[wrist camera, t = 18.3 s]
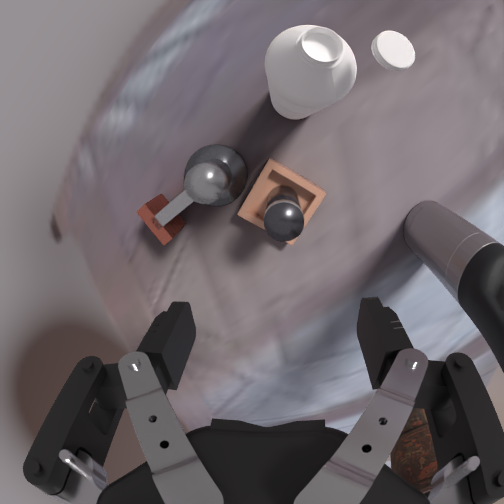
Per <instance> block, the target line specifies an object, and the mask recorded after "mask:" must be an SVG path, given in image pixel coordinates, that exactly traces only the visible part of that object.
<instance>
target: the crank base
mask: <svg viewBox="0 0 504 504" xmlns="http://www.w3.org/2000/svg"><path fill="white" fill-rule="evenodd" d="M210 159H219V160H222V161H223V162H225V163H226V164H227V165H228V166H229V168H230V170H231V173H232V180H231V183H230V185H229V187H228V188H227V189H226V190H225V191H224V192H223V194H222V195H221V196H220V197H219V198H218V199H217V200H216V201H214V202H212V203H209V204H207V205H212V206H221V205H225V204H228V203H230V202H232V201H233V200H235V199H236V198H237V197H238V196H239V195H240V194H241V192H242V191H243V189H244V187H245V184H246V180H247V169H246V166H245V163H244V161H243V159H242V158H241V156H240V155H239V154H238V153H237V152H236V151H235V150H233V149H231V148H229V147H227V146H224V145H209V146H205V147H203V148H201V149H199V150H198V151H196V152H195V153H194V154H193V155H192V156H191V158H190V159H189V161H188V163H187V166H186V170H185V177H186V174H187V173H188V171H189V170H190V169H191V168H193V167H194V166H196V165H198V164H200V163H203V162H205V161H207V160H210Z"/></svg>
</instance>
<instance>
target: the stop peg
mask: <svg viewBox="0 0 504 504" xmlns="http://www.w3.org/2000/svg"><path fill="white" fill-rule="evenodd" d="M264 227H265V230H266V232H267V233H268V235H269V236H270V237H272V238H273V239H275V240H277V241H283V242H286V241H291V240H293V239H295V238H297V237H298V236H299V235H300V234H301V232H302V230H303V228H304V215H303V212H302V210H301V206H300V203H299V199H298V196H297V194H296V192H295V191H294V190H293V189H292V188H291V187H289V186H285V185H280V186H277V187H275V188H273V189H272V190H271V191H270V192H269V194H268V198H267V204H266V210H265V214H264Z"/></svg>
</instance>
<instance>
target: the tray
mask: <svg viewBox="0 0 504 504" xmlns="http://www.w3.org/2000/svg"><path fill="white" fill-rule="evenodd" d="M280 185H285V186H289V187H291V188H292V189H293V190H294V191H295V192H296V194H297V196H298V199H299V203H300V206H301V210H302V212H303V215H304V227H305V225H306V224H307V222H308V221H309V219H310V218H311V216H312V215H313V213H314V212H315V210H316V209H317V207H318V206H319V204H320V203H321V201H322V200H323V198H324V197H325V195H326V192H325V191H324V190H323V189H322V188H320V187H318V186H317V185H315V184H314V183H312V182H310V181H309V180H307V179H306V178H304V177H302V176H301V175H299V174H297V173H296V172H294V171H292V170H291V169H289V168H287V167H286V166H284V165H282V164H280V163H279V162H277V161H275V160H273V159H272V158H269V160H268V162H267V163H266V165H265V167H264V168H263V170H262V172H261V173H260V175H259V177H258V179H257V180H256V182H255V184H254V185H253V187H252V189H251V191H250V192H249V194H248V196H247V198H246V199H245V201H244V203H243V205H242V206H241V208H240V210H239V212H238V214H237V215H239V216H240V217H242V218H244V219H246V220H248V221H249V222H251V223H253V224H255V225H257V226H258V227H260V228H262V229H264V230H265V227H264V214H265V210H266V204H267V198H268V194H269V192H270V191H271V190H272V189H273V188H275V187H277V186H280ZM296 239H297V238H295V239H293V240H291V241H286V242H287V243H289V244H291V245H293V243H294V242H295V240H296Z"/></svg>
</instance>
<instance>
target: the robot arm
mask: <svg viewBox="0 0 504 504" xmlns="http://www.w3.org/2000/svg"><path fill="white" fill-rule="evenodd" d="M404 237H405V241H406V243H407V245H408V246H409V247H410V248H411V249H412V251H413V252H414V253H415V254H416V255H417V256H418V257H419V258H420V259H421V260H422V261H423V262H424V264H425V265H426V266H427V267H428V268H429V269H430V270H431V271H432V272H433V274H434V275H435V276H436V277H437V278H438V279H439V280H440V282H441V283H442V284H443V285H444V286H445V287H446V289H447V290H448V291H449V292H450V293H451V294H452V296H453V297H454V298H455V299H456V301H457V302H458V303H459V304H460V306H461V307H462V308H463V310H464V311H465V312H466V313H467V315H468V316H469V317H470V319H471V320H472V321H473V323H474V324H475V325H476V327H477V328H478V329H479V331H480V332H481V334H482V335H483V337H484V338H485V340H486V341H487V343H488V345H489V346H490V348H491V350H492V352H493V353H494V355H495V357H496V359H497V361H498V363H499V365H500V366H501V368H502V370H503V372H504V246H503V245H502V244H501V243H499V242H498V241H496V240H495V239H494V238H492V237H491V236H489V235H488V234H486V233H485V232H483V231H482V230H480V229H479V228H477V227H476V226H474V225H473V224H471V223H470V222H468V221H467V220H465V219H463V218H462V217H460V216H459V215H457V214H455V213H454V212H452V211H450V210H449V209H447V208H446V207H444V206H442V205H440V204H439V203H437V202H434V201H424V202H421V203H419V204H417V205H416V206H415V207H414V208H413V209H412V210H411V211H410V213H409V214H408V216H407V218H406V221H405V225H404ZM357 336H358V340H359V343H360V346H361V350H362V353H363V356H364V360H365V363H366V367H367V370H368V374H369V378H370V381H371V385H372V389H373V390H374V389H377V391H376V393H375V394H374V396H373V398H372V399H371V401H370V403H369V404H368V406H367V407H366V409H365V411H364V412H363V414H362V415H361V417H360V418H359V420H358V421H357V423H356V424H355V426H354V427H353V429H352V430H351V432H350V433H349V434H347V433H345V432H343V431H340V430H337V429H334V428H330V427H325V420H310V421H295V422H291V423H287V424H283V425H278V426H273V427H262V426H258V425H254V424H250V423H246V422H243V421H238V420H223V419H212V422H211V426H206V427H201V428H198V429H195V430H193V431H190V432H188V433H187V434H186V433H185V431H184V429H183V427H182V426H181V424H180V422H179V420H178V418H177V416H176V414H175V412H174V410H173V408H172V406H171V404H170V402H169V400H168V398H167V396H166V393H167V390H168V389H172V390H177V388H178V385H179V382H180V379H181V376H182V374H183V371H184V368H185V365H186V363H187V360H188V357H189V354H190V352H191V349H192V346H193V344H194V341H195V337H196V327H195V323H194V319H193V315H192V311H191V307H190V304H189V302H172V303H171V305H170V307H169V309H168V311H167V312H165V311H163V312H162V313H160V314H159V315H158V316H157V317H156V318H155V319H154V321H153V323H152V324H151V326H150V328H149V330H148V332H147V333H146V335H145V336H144V338H143V340H142V342H141V343H140V345H139V347H138V349H137V351H136V352H131V353H128V354H126V355H125V356H123V357H122V358H121V360H120V361H119V363H116V364H106V365H103V363H102V361H101V360H100V358H98V357H95V356H89V357H86V358H83V359H82V360H80V361H79V362H78V363H77V365H76V367H75V368H74V370H73V371H72V373H71V375H70V376H69V378H68V380H67V381H66V383H65V385H64V386H63V388H62V390H61V392H60V394H59V395H58V397H57V399H56V400H55V402H54V404H53V406H52V408H51V409H50V412H49V413H48V415H47V417H46V419H45V421H44V423H43V425H42V426H41V428H40V431H39V432H38V435H37V436H36V438H35V440H34V443H33V445H32V447H31V449H30V451H29V453H28V455H27V457H26V460H25V462H24V465H23V472H24V476H25V478H26V479H27V481H28V482H30V483H31V484H33V485H34V486H36V487H37V488H39V489H40V490H42V491H43V492H44V493H45V494H47V495H49V496H51V497H52V498H54V499H56V500H57V501H59V502H61V503H63V504H493V503H494V502H496V501H498V500H499V499H501V498H503V497H504V432H503V429H502V427H501V424H500V421H499V419H498V416H497V413H496V411H495V408H494V406H493V404H492V401H491V399H490V397H489V394H488V392H487V390H486V388H485V386H484V383H483V381H482V379H481V377H480V375H479V373H478V371H477V369H476V367H475V365H474V363H473V361H472V360H471V358H470V357H468V356H467V355H465V354H463V353H452V354H450V355H449V356H448V357H447V359H446V361H445V362H443V361H431V360H428V359H427V357H426V355H425V354H424V353H423V352H421V351H420V350H417V349H414V348H413V346H412V344H411V342H410V340H409V338H408V336H407V334H406V332H405V330H404V328H403V326H402V324H401V322H400V320H399V318H398V316H397V314H396V313H395V312H394V311H393V310H392V309H390V308H389V307H383V305H382V303H381V301H380V300H379V298H378V297H372V298H362V300H361V304H360V310H359V316H358V322H357ZM94 400H95V403H94V404H93V407H92V409H91V411H90V413H89V410H90V407H91V405H92V403H93V401H94ZM124 408H127V409H128V412H129V415H130V418H131V421H132V424H133V427H134V429H135V432H136V435H137V437H138V440H139V443H140V445H141V448H142V450H143V452H144V455H145V457H146V460H147V461H146V462H145V463H143V464H142V465H140V466H138V467H137V468H135V469H134V470H132V471H131V472H129V473H127V474H126V475H124V476H123V477H121V478H119V479H118V480H116V481H114V482H113V483H111V484H109V485H108V483H107V475H106V472H105V470H104V468H103V465H104V462H105V459H106V456H107V453H108V450H109V448H110V445H111V442H112V439H113V437H114V434H115V431H116V429H117V426H118V423H119V421H120V418H121V416H122V413H123V411H124ZM413 408H419V409H424V410H425V414H426V418H427V421H428V425H429V429H430V433H431V437H432V442H433V446H434V450H435V455H436V460H437V465H438V470H439V471H438V472H437V473H436V474H435V475H434V477H433V479H432V481H431V491H430V494H429V497H428V498H427V497H426V496H425V495H424V494H423V493H422V492H421V491H419V490H418V489H417V488H415V487H414V486H413V485H411V484H410V483H409V482H407V481H406V480H405V479H403V478H402V477H401V476H400V475H398V474H397V473H396V472H394V471H393V470H392V469H391V468H389V467H388V466H387V465H386V464H385V462H386V460H387V458H388V457H389V455H390V453H391V451H392V449H393V448H394V446H395V444H396V442H397V440H398V438H399V436H400V434H401V432H402V430H403V428H404V426H405V424H406V422H407V420H408V418H409V415H410V413H411V411H412V409H413ZM107 485H108V486H107Z"/></svg>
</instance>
